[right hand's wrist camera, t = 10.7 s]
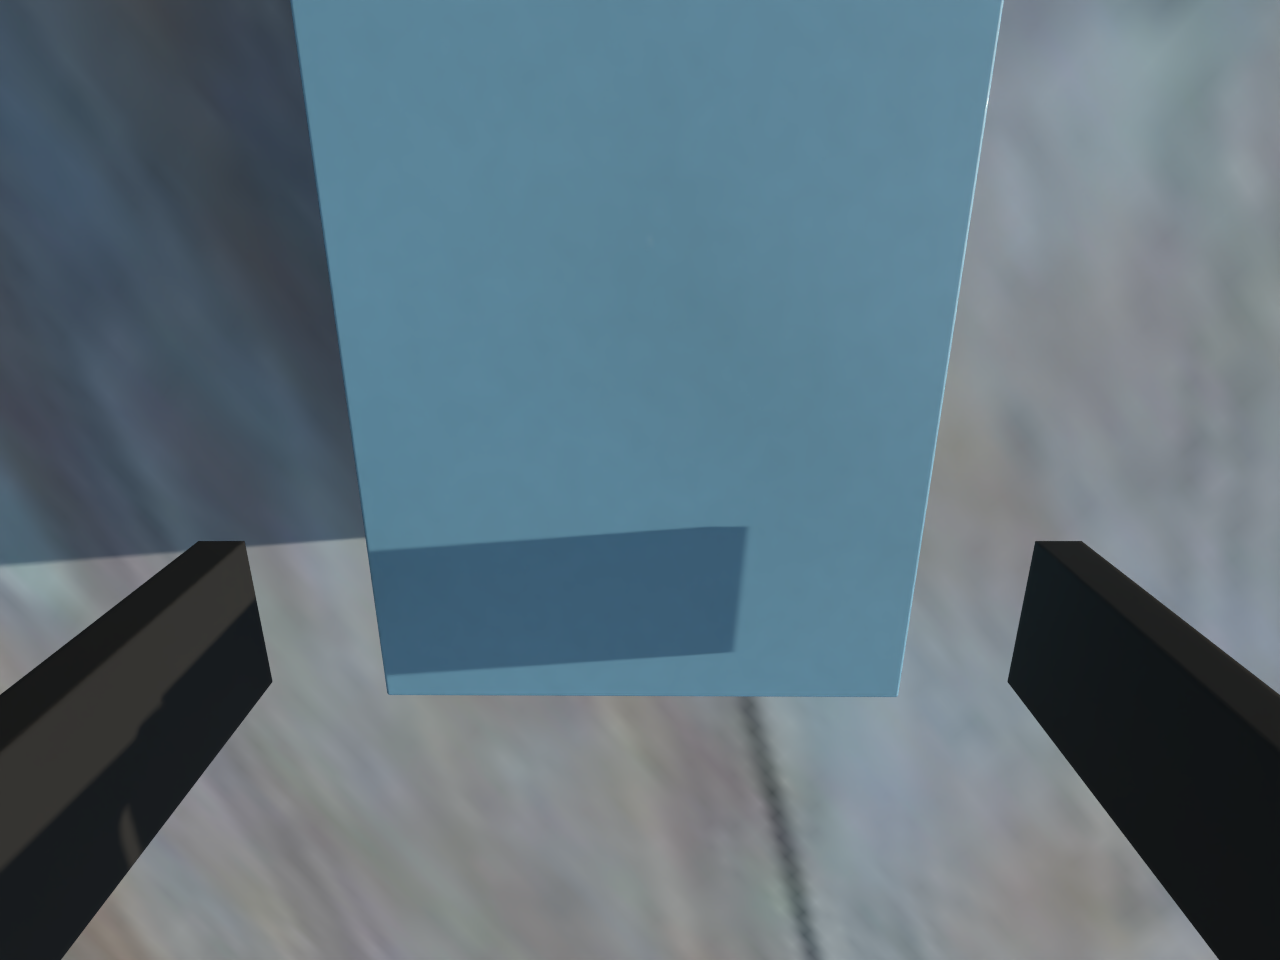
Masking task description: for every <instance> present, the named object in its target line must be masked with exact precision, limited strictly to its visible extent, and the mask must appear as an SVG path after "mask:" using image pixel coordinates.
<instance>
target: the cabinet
mask: <svg viewBox="0 0 1280 960" xmlns="http://www.w3.org/2000/svg"><path fill="white" fill-rule="evenodd" d="M1003 2H1004V0H290V3H291V10H292V17H293V24H294V31H295V38H296V45H297V53H298V60H299V67H300V74H301V81H302V88H303V95H304V102H305V110H306V117H307V124H308V131H309V138H310V145H311V152H312V159H313V167H314V174H315V181H316V188H317V195H318V202H319V209H320V216H321V224H322V231H323V238H324V245H325V252H326V259H327V266H328V273H329V280H330V288H331V295H332V302H333V309H334V316H335V323H336V330H337V337H338V345H339V352H340V359H341V366H342V373H343V380H344V387H345V394H346V402H347V409H348V416H349V423H350V430H351V437H352V444H353V451H354V459H355V466H356V473H357V480H358V487H359V494H360V501H361V508H362V516H363V523H364V530H365V537H366V544H367V551H368V558H369V565H370V573H371V580H372V587H373V594H374V601H375V608H376V615H377V622H378V630H379V637H380V644H381V651H382V658H383V665H384V672H385V679H386V687H387V693H388V694H389V695H558V696H801V697H897V696H898V692H899V685H900V679H901V672H902V666H903V659H904V653H905V646H906V639H907V633H908V626H909V620H910V613H911V607H912V600H913V593H914V587H915V580H916V574H917V567H918V561H919V554H920V547H921V541H922V534H923V528H924V521H925V515H926V508H927V501H928V495H929V488H930V482H931V475H932V469H933V462H934V455H935V449H936V442H937V436H938V429H939V422H940V416H941V409H942V403H943V396H944V390H945V383H946V376H947V370H948V363H949V357H950V350H951V344H952V337H953V330H954V324H955V317H956V311H957V304H958V298H959V291H960V284H961V278H962V271H963V265H964V258H965V252H966V245H967V238H968V232H969V225H970V219H971V212H972V206H973V199H974V192H975V186H976V179H977V173H978V166H979V159H980V153H981V146H982V140H983V133H984V127H985V120H986V113H987V107H988V100H989V94H990V87H991V81H992V74H993V67H994V61H995V54H996V48H997V41H998V35H999V28H1000V21H1001V15H1002V8H1003Z"/></svg>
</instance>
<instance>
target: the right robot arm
mask: <svg viewBox="0 0 1280 960" xmlns="http://www.w3.org/2000/svg"><path fill="white" fill-rule="evenodd" d="M271 683H272V677H271V672H270V667H269V662H268V657H267V652H266V647H265V642H264V637H263V632H262V627H261V622H260V617H259V611H258V606H257V601H256V596H255V591H254V586H253V581H252V576H251V571H250V566H249V561H248V556H247V551H246V546H245V541H198V542H197V543H195V544H194V545H193V546H192V547H190V548H189V549H188V550H186V551H185V552H184V553H183V554H181V555H180V556H179V557H177V558H176V559H175V560H174V561H172V562H171V563H170V564H168V565H167V566H166V567H165V568H163V569H162V570H161V571H159V572H158V573H157V574H155V575H154V576H153V577H152V578H150V579H149V580H148V581H146V582H145V583H144V584H143V585H141V586H140V587H139V588H137V589H136V590H135V591H134V592H132V593H131V594H130V595H128V596H127V597H126V598H125V599H123V600H122V601H121V602H119V603H118V604H117V605H116V606H114V607H113V608H112V609H110V610H109V611H108V612H107V613H105V614H104V615H103V616H101V617H100V618H99V619H97V620H96V621H95V622H94V623H92V624H91V625H90V626H88V627H87V628H86V629H85V630H83V631H82V632H81V633H79V634H78V635H77V636H76V637H74V638H73V639H72V640H70V641H69V642H68V643H67V644H65V645H64V646H63V647H61V648H60V649H59V650H58V651H56V652H55V653H54V654H52V655H51V656H50V657H48V658H47V659H46V660H45V661H43V662H42V663H41V664H39V665H38V666H37V667H36V668H34V669H33V670H32V671H30V672H29V673H28V674H27V675H25V676H24V677H23V678H21V679H20V680H19V681H18V682H16V683H15V684H14V685H12V686H11V687H10V688H9V689H7V690H6V691H5V692H3V693H2V694H1V695H0V960H61V959H62V958H63V956H64V955H65V954H66V952H67V951H68V950H69V948H70V947H71V946H72V944H73V943H74V942H75V941H76V939H77V938H78V937H79V935H80V934H81V933H82V931H83V930H84V929H85V927H86V926H87V925H88V923H89V922H90V921H91V919H92V918H93V917H94V916H95V914H96V913H97V912H98V910H99V909H100V908H101V906H102V905H103V904H104V902H105V901H106V900H107V898H108V897H109V896H110V895H111V893H112V892H113V891H114V889H115V888H116V887H117V885H118V884H119V883H120V881H121V880H122V879H123V877H124V876H125V875H126V874H127V872H128V871H129V870H130V868H131V867H132V866H133V864H134V863H135V862H136V860H137V859H138V858H139V856H140V855H141V854H142V852H143V851H144V850H145V849H146V847H147V846H148V845H149V843H150V842H151V841H152V839H153V838H154V837H155V835H156V834H157V833H158V831H159V830H160V829H161V828H162V826H163V825H164V824H165V822H166V821H167V820H168V818H169V817H170V816H171V814H172V813H173V812H174V810H175V809H176V808H177V806H178V805H179V804H180V803H181V801H182V800H183V799H184V797H185V796H186V795H187V793H188V792H189V791H190V789H191V788H192V787H193V785H194V784H195V783H196V782H197V780H198V779H199V778H200V776H201V775H202V774H203V772H204V771H205V770H206V768H207V767H208V766H209V764H210V763H211V762H212V760H213V759H214V758H215V757H216V755H217V754H218V753H219V751H220V750H221V749H222V747H223V746H224V745H225V743H226V742H227V741H228V739H229V738H230V737H231V736H232V734H233V733H234V732H235V730H236V729H237V728H238V726H239V725H240V724H241V722H242V721H243V720H244V718H245V717H246V716H247V715H248V713H249V712H250V711H251V709H252V708H253V707H254V705H255V704H256V703H257V701H258V700H259V699H260V697H261V696H262V695H263V693H264V692H265V691H266V690H267V688H268V687H269V686H270V684H271ZM1008 683H1009V684H1010V686H1011V687H1012V688H1013V690H1014V691H1015V692H1016V693H1017V695H1018V696H1019V697H1020V699H1021V700H1022V701H1023V703H1024V704H1025V705H1026V707H1027V708H1028V709H1029V711H1030V712H1031V713H1032V715H1033V716H1034V717H1035V718H1036V720H1037V721H1038V722H1039V724H1040V725H1041V726H1042V728H1043V729H1044V730H1045V732H1046V733H1047V734H1048V736H1049V737H1050V738H1051V739H1052V741H1053V742H1054V743H1055V745H1056V746H1057V747H1058V749H1059V750H1060V751H1061V753H1062V754H1063V755H1064V757H1065V758H1066V759H1067V760H1068V762H1069V763H1070V764H1071V766H1072V767H1073V768H1074V770H1075V771H1076V772H1077V774H1078V775H1079V776H1080V778H1081V779H1082V780H1083V782H1084V783H1085V784H1086V785H1087V787H1088V788H1089V789H1090V791H1091V792H1092V793H1093V795H1094V796H1095V797H1096V799H1097V800H1098V801H1099V803H1100V804H1101V805H1102V806H1103V808H1104V809H1105V810H1106V812H1107V813H1108V814H1109V816H1110V817H1111V818H1112V820H1113V821H1114V822H1115V824H1116V825H1117V826H1118V828H1119V829H1120V830H1121V831H1122V833H1123V834H1124V835H1125V837H1126V838H1127V839H1128V841H1129V842H1130V843H1131V845H1132V846H1133V847H1134V849H1135V850H1136V851H1137V852H1138V854H1139V855H1140V856H1141V858H1142V859H1143V860H1144V862H1145V863H1146V864H1147V866H1148V867H1149V868H1150V870H1151V871H1152V872H1153V874H1154V875H1155V876H1156V877H1157V879H1158V880H1159V881H1160V883H1161V884H1162V885H1163V887H1164V888H1165V889H1166V891H1167V892H1168V893H1169V895H1170V896H1171V897H1172V898H1173V900H1174V901H1175V902H1176V904H1177V905H1178V906H1179V908H1180V909H1181V910H1182V912H1183V913H1184V914H1185V916H1186V917H1187V918H1188V919H1189V921H1190V922H1191V923H1192V925H1193V926H1194V927H1195V929H1196V930H1197V931H1198V933H1199V934H1200V935H1201V937H1202V938H1203V939H1204V941H1205V942H1206V943H1207V944H1208V946H1209V947H1210V948H1211V950H1212V951H1213V952H1214V954H1215V955H1216V956H1217V958H1218V959H1219V960H1280V695H1279V694H1278V693H1277V692H1275V691H1274V690H1273V689H1271V688H1270V687H1269V686H1268V685H1266V684H1265V683H1264V682H1262V681H1261V680H1260V679H1259V678H1257V677H1256V676H1255V675H1253V674H1252V673H1251V672H1250V671H1248V670H1247V669H1246V668H1244V667H1243V666H1242V665H1241V664H1239V663H1238V662H1237V661H1235V660H1234V659H1233V658H1232V657H1230V656H1229V655H1228V654H1226V653H1225V652H1224V651H1222V650H1221V649H1220V648H1219V647H1217V646H1216V645H1215V644H1213V643H1212V642H1211V641H1210V640H1208V639H1207V638H1206V637H1204V636H1203V635H1202V634H1201V633H1199V632H1198V631H1197V630H1195V629H1194V628H1193V627H1192V626H1190V625H1189V624H1188V623H1186V622H1185V621H1184V620H1183V619H1181V618H1180V617H1179V616H1177V615H1176V614H1175V613H1173V612H1172V611H1171V610H1170V609H1168V608H1167V607H1166V606H1164V605H1163V604H1162V603H1161V602H1159V601H1158V600H1157V599H1155V598H1154V597H1153V596H1152V595H1150V594H1149V593H1148V592H1146V591H1145V590H1144V589H1143V588H1141V587H1140V586H1139V585H1137V584H1136V583H1135V582H1134V581H1132V580H1131V579H1130V578H1128V577H1127V576H1126V575H1124V574H1123V573H1122V572H1121V571H1119V570H1118V569H1117V568H1115V567H1114V566H1113V565H1112V564H1110V563H1109V562H1108V561H1106V560H1105V559H1104V558H1103V557H1101V556H1100V555H1099V554H1097V553H1096V552H1095V551H1094V550H1092V549H1091V548H1090V547H1088V546H1087V545H1086V544H1085V543H1083V542H1082V541H1035V546H1034V551H1033V556H1032V561H1031V566H1030V571H1029V576H1028V581H1027V586H1026V591H1025V596H1024V601H1023V606H1022V611H1021V617H1020V622H1019V627H1018V632H1017V637H1016V642H1015V647H1014V652H1013V657H1012V662H1011V667H1010V672H1009V677H1008Z"/></svg>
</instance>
